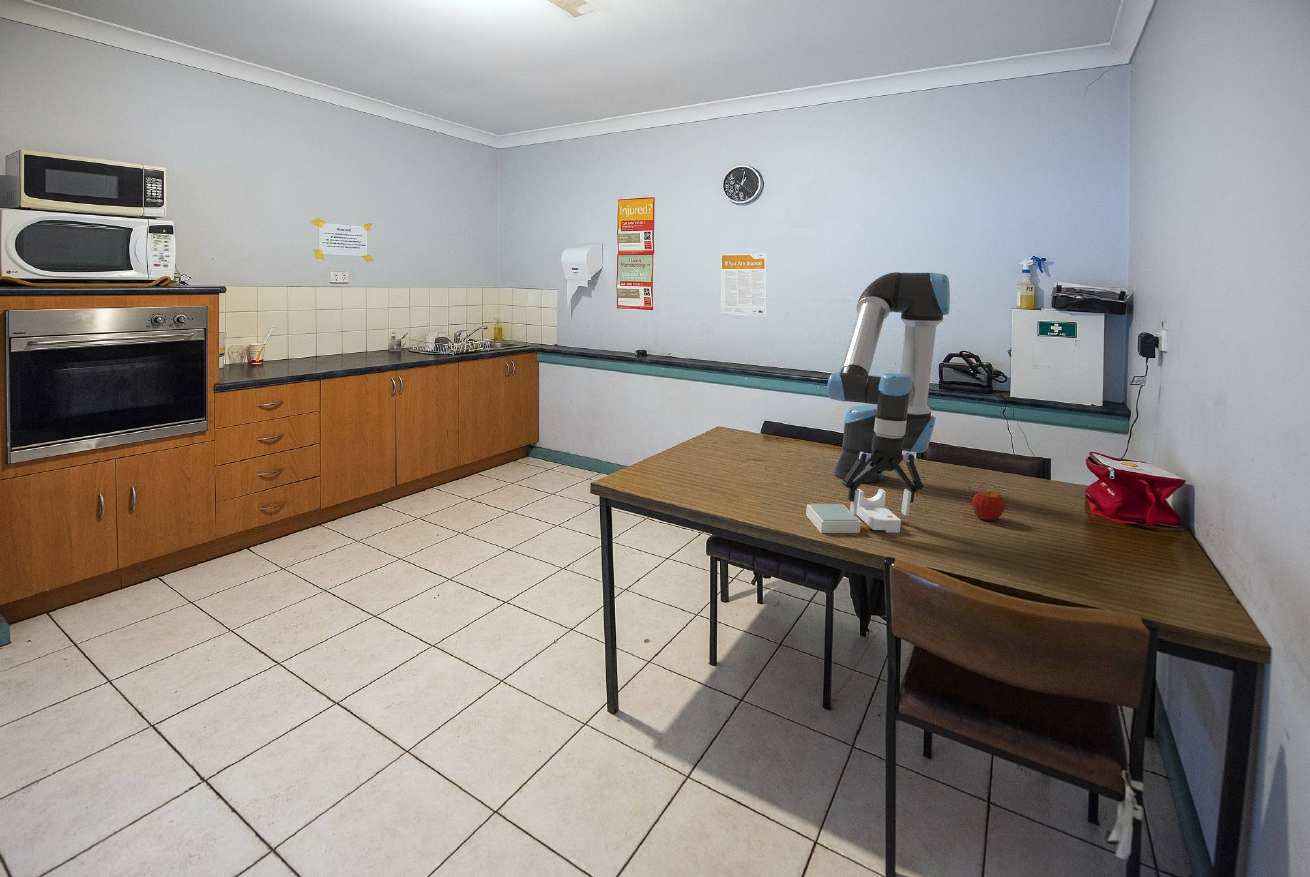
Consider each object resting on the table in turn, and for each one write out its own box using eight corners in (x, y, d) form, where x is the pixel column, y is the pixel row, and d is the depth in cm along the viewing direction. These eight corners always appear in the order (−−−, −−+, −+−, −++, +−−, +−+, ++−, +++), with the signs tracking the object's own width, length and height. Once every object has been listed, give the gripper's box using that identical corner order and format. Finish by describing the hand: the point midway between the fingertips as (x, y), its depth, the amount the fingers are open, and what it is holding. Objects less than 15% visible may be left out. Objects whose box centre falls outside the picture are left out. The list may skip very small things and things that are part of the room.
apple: (997, 526, 173) (1002, 498, 171) (966, 518, 178) (970, 491, 176) (1005, 519, 179) (1010, 491, 177) (975, 511, 184) (979, 485, 182)
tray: (842, 514, 179) (843, 503, 178) (859, 532, 166) (861, 520, 165) (806, 514, 178) (807, 503, 177) (821, 532, 165) (822, 520, 164)
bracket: (853, 515, 179) (856, 488, 178) (879, 515, 180) (882, 489, 178) (872, 533, 167) (875, 505, 165) (899, 533, 167) (903, 505, 165)
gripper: (929, 433, 171) (918, 509, 176) (835, 430, 169) (827, 507, 174) (944, 439, 164) (932, 519, 169) (845, 436, 162) (836, 517, 167)
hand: (878, 514), depth 171 cm, fingers open, 13 cm apart
